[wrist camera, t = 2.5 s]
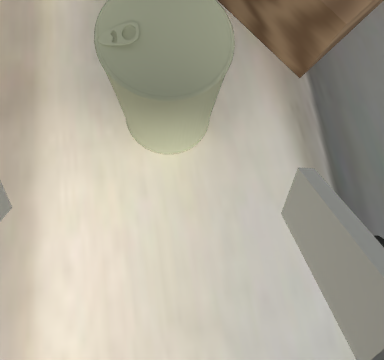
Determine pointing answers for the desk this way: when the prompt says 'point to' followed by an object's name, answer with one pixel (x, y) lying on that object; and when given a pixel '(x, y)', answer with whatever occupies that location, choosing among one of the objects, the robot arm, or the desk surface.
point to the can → (165, 66)
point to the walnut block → (300, 26)
